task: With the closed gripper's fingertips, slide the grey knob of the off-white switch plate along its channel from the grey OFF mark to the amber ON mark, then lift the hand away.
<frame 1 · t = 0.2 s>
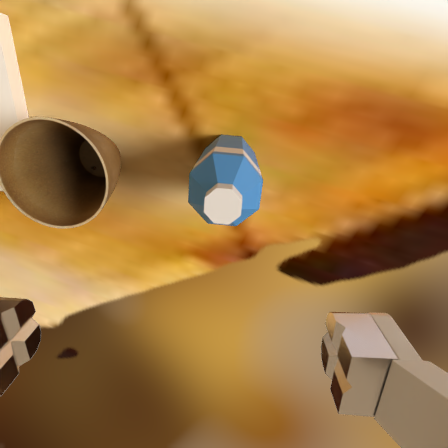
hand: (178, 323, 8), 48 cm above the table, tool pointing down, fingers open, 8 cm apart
water bottle: (229, 160, 54), on the table
plant pot: (102, 155, 55), on the table
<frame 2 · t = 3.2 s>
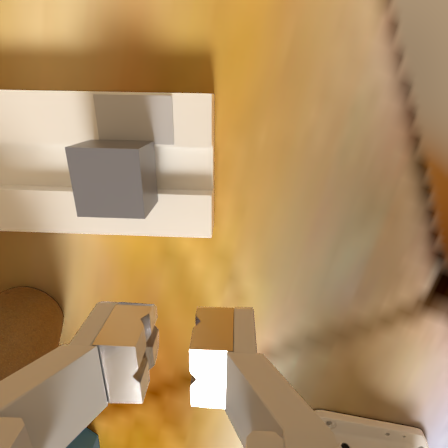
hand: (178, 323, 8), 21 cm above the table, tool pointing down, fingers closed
switch plate: (64, 161, 28), on the table
water bottle: (70, 439, 45), on the table
switch knob: (120, 174, 24), point 5 cm above the table, slide at 0.0 cm
plant pot: (35, 312, 36), on the table
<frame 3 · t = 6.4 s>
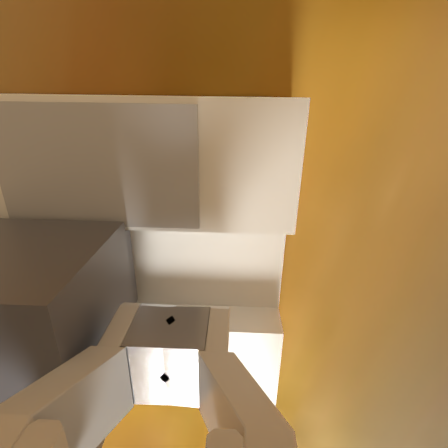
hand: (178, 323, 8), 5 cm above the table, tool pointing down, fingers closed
switch knob: (37, 311, 9), point 5 cm above the table, slide at 0.7 cm, touching gripper
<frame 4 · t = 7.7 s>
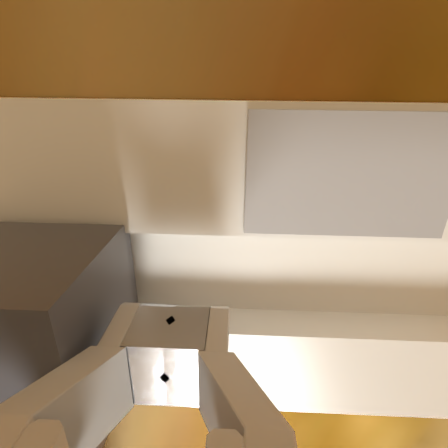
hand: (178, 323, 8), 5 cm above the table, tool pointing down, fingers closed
switch plate: (126, 245, 13), on the table
switch knob: (38, 314, 9), point 5 cm above the table, slide at 8.1 cm, touching gripper
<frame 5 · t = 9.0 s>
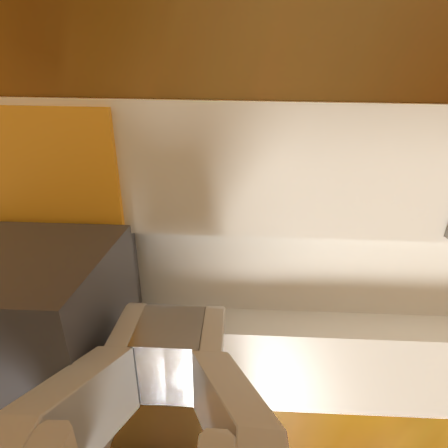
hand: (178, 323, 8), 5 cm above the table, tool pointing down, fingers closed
switch plate: (267, 250, 13), on the table
switch knob: (44, 314, 9), point 5 cm above the table, slide at 14.1 cm, touching gripper
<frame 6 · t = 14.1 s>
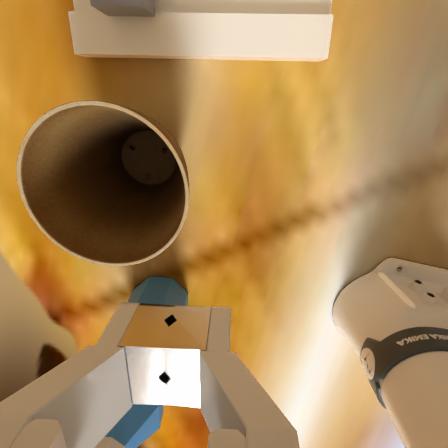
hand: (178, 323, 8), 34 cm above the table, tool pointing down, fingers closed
water bottle: (161, 298, 50), on the table
plant pot: (151, 158, 41), on the table
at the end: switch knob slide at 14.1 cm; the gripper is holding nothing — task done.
